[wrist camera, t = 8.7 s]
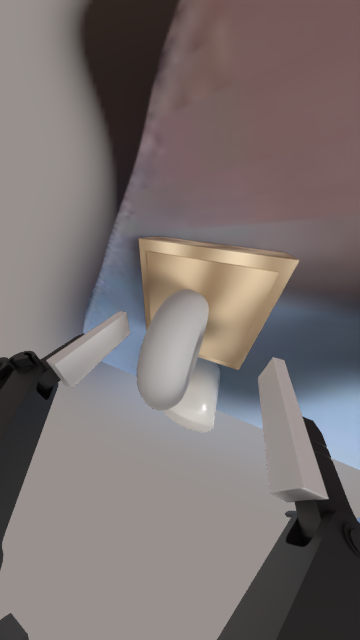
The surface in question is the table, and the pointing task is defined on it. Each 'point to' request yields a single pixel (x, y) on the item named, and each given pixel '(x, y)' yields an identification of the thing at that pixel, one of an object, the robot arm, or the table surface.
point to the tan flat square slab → (217, 289)
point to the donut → (171, 349)
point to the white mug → (198, 398)
